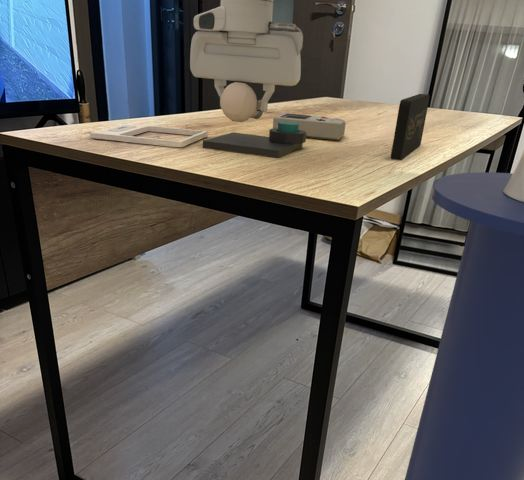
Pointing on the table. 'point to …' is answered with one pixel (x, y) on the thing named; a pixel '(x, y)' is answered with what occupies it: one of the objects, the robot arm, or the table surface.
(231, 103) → the light bulb
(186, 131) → the photo frame
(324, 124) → the handheld gaming device
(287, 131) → the button
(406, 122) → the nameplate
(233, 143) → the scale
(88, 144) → the table surface
